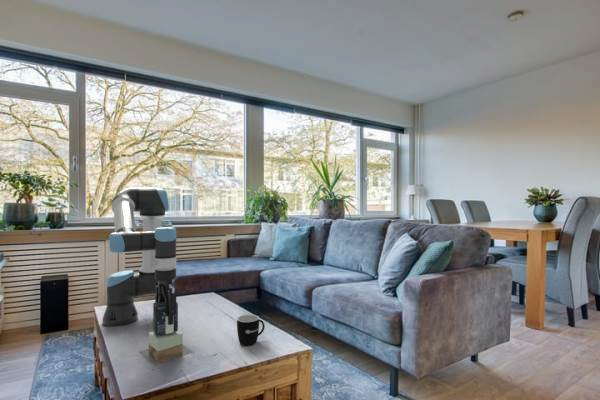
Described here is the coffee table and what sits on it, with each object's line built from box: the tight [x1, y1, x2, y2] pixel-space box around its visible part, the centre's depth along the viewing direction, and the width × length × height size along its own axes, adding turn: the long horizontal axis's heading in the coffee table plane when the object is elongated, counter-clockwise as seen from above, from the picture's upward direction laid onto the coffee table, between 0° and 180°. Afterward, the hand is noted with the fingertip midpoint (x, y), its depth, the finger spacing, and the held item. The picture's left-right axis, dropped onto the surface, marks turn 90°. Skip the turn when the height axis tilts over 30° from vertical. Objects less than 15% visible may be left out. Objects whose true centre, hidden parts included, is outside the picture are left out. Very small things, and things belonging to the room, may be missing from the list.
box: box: [152, 301, 179, 335], centre depth 125 cm, size 8×6×11 cm
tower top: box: [148, 330, 184, 351], centre depth 125 cm, size 9×9×4 cm
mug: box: [236, 314, 266, 347], centre depth 137 cm, size 12×9×10 cm
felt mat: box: [138, 344, 194, 366], centre depth 127 cm, size 15×15×1 cm
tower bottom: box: [148, 343, 184, 363], centre depth 125 cm, size 9×9×4 cm
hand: (165, 330), depth 125 cm, fingers closed on box, 6 cm apart
